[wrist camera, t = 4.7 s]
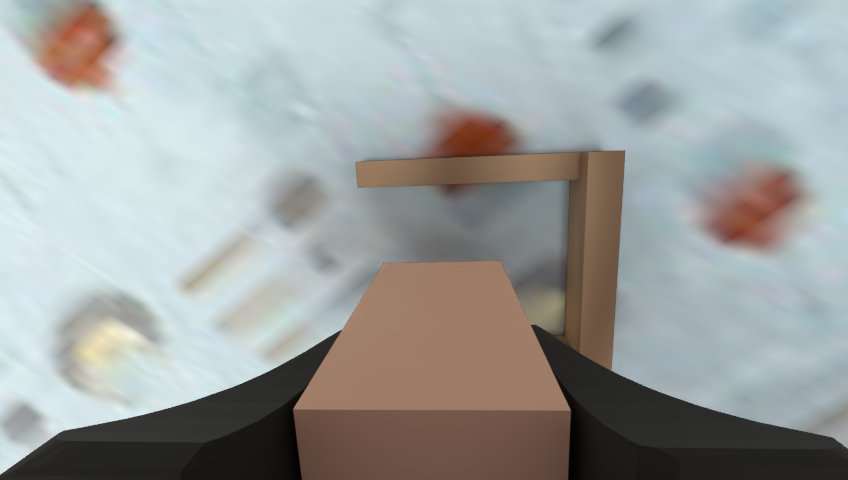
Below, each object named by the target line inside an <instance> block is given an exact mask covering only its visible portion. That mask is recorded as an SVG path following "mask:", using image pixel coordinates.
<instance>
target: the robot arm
mask: <svg viewBox="0 0 848 480" xmlns="http://www.w3.org/2000/svg"><path fill="white" fill-rule="evenodd" d="M531 327H532V329H533V331H534V333H535V335H536V338H537V340H538V342H539V344H540V346H541V348H542V350H543V352H544V355H545V357H546V359H547V361H548V363H549V365H550V367H551V370H552V372H553V374H554V376H555V378H556V380H557V382H558V384H559V387H560V389H561V391H562V393H563V395H564V397H565V399H566V401H567V404H568V406H569V408H570V410H571V418H570V443H569V467H568V480H848V449H847V448H846V447H844V446H843V445H842V444H840V443H839V442H838V441H836V440H835V439H834V438H832V437H827V436H822V435H818V434H813V433H808V432H803V431H798V430H793V429H789V428H784V427H779V426H774V425H769V424H764V423H760V422H755V421H751V420H747V419H744V418H740V417H736V416H733V415H729V414H725V413H721V412H718V411H714V410H711V409H708V408H704V407H701V406H698V405H694V404H691V403H688V402H685V401H683V400H680V399H677V398H674V397H671V396H669V395H666V394H663V393H660V392H658V391H655V390H653V389H650V388H647V387H645V386H643V385H641V384H638V383H636V382H634V381H632V380H629V379H627V378H625V377H623V376H620V375H618V374H616V373H614V372H612V371H610V370H608V369H607V368H605V367H603V366H601V365H599V364H598V363H596V362H594V361H592V360H590V359H589V358H587V357H585V356H584V355H582V354H580V353H579V352H577V351H575V350H574V349H572V348H571V347H569V346H568V345H566V344H565V343H563V342H562V341H560V340H559V339H557V338H556V337H554V336H553V335H551V334H550V333H548V332H547V331H545V330H543V329H542V328H540V327H538V326H537V325H531ZM341 331H342V330H340V331H339V332H337V333H335V334H333V335H332V336H330V337H329V338H327V339H325V340H324V341H322V342H320V343H319V344H317V345H315V346H314V347H312V348H310V349H309V350H307V351H306V352H304V353H302V354H300V355H298V356H297V357H295V358H293V359H291V360H289V361H288V362H286V363H284V364H282V365H280V366H278V367H277V368H275V369H273V370H271V371H269V372H267V373H265V374H262V375H260V376H258V377H256V378H254V379H251V380H249V381H247V382H244V383H242V384H240V385H237V386H235V387H232V388H229V389H226V390H224V391H221V392H218V393H215V394H212V395H209V396H207V397H204V398H201V399H198V400H195V401H192V402H189V403H185V404H182V405H178V406H175V407H172V408H168V409H164V410H160V411H156V412H153V413H149V414H145V415H141V416H136V417H132V418H128V419H123V420H118V421H113V422H108V423H102V424H97V425H92V426H87V427H82V428H77V429H71V430H65V431H62V432H60V433H59V434H57V435H56V436H54V437H53V438H51V439H50V440H49V441H47V442H46V443H44V444H43V445H42V446H40V447H39V448H37V449H36V450H35V451H33V452H32V453H30V454H29V455H27V456H26V457H25V458H23V459H22V460H20V461H19V462H18V463H16V464H15V465H13V466H12V467H11V468H9V469H8V470H6V471H5V472H4V473H2V474H1V475H0V480H302V476H301V468H300V460H299V452H298V444H297V436H296V428H295V420H294V412H293V409H294V407H295V406H296V404H297V402H298V401H299V399H300V397H301V396H302V394H303V393H304V391H305V389H306V388H307V386H308V385H309V383H310V381H311V380H312V378H313V376H314V375H315V373H316V372H317V370H318V368H319V367H320V365H321V363H322V362H323V360H324V359H325V357H326V355H327V354H328V352H329V351H330V349H331V347H332V346H333V344H334V342H335V341H336V339H337V338H338V336H339V334H340V333H341Z"/></svg>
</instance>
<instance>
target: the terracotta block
mask: <svg viewBox="0 0 848 480" xmlns="http://www.w3.org/2000/svg"><path fill="white" fill-rule="evenodd" d="M293 412H294V420H295V428H296V436H297V444H298V452H299V460H300V468H301V476H302V480H568V467H569V443H570V418H571V410H570V408H569V406H568V404H567V401H566V399H565V397H564V395H563V393H562V391H561V389H560V387H559V384H558V382H557V380H556V378H555V376H554V374H553V372H552V370H551V367H550V365H549V363H548V361H547V359H546V357H545V355H544V352H543V350H542V348H541V346H540V344H539V342H538V340H537V338H536V335H535V333H534V331H533V329H532V327H531V325H530V323H529V321H528V318H527V316H526V314H525V312H524V310H523V308H522V306H521V304H520V301H519V299H518V297H517V295H516V293H515V291H514V289H513V287H512V284H511V282H510V280H509V278H508V276H507V274H506V272H505V270H504V267H503V265H502V263H501V261H458V262H415V263H383V265H382V266H381V268H380V270H379V271H378V273H377V274H376V276H375V278H374V279H373V281H372V283H371V284H370V286H369V287H368V289H367V291H366V292H365V294H364V295H363V297H362V299H361V300H360V302H359V304H358V305H357V307H356V308H355V310H354V312H353V313H352V315H351V317H350V318H349V320H348V321H347V323H346V325H345V326H344V328H343V329H342V331H341V333H340V334H339V336H338V338H337V339H336V341H335V342H334V344H333V346H332V347H331V349H330V351H329V352H328V354H327V355H326V357H325V359H324V360H323V362H322V363H321V365H320V367H319V368H318V370H317V372H316V373H315V375H314V376H313V378H312V380H311V381H310V383H309V385H308V386H307V388H306V389H305V391H304V393H303V394H302V396H301V397H300V399H299V401H298V402H297V404H296V406H295V407H294V409H293Z"/></svg>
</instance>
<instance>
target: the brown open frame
mask: <svg viewBox="0 0 848 480" xmlns="http://www.w3.org/2000/svg"><path fill="white" fill-rule="evenodd" d="M624 163H625V151H593V152H570V153H546V154H523V155H500V156H476V157H453V158H429V159H406V160H382V161H361V162H356V171H357V184H358V188H363V187H390V186H416V185H443V184H469V183H496V182H522V181H549V180H570V194H569V222H568V250H567V278H566V306H565V335H564V336H554V337H556V338H557V339H559V340H560V341H562V342H563V343H565V344H566V345H568V346H569V347H571V348H572V349H574V350H575V351H577V352H579V353H580V354H582V355H584V356H585V357H587V358H589V359H590V360H592V361H594V362H596V363H598V364H599V365H601V366H603V367H605V368H607V369H608V370H610V371H611V367H612V352H613V336H614V320H615V304H616V289H617V273H618V257H619V242H620V226H621V210H622V195H623V179H624Z"/></svg>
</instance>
